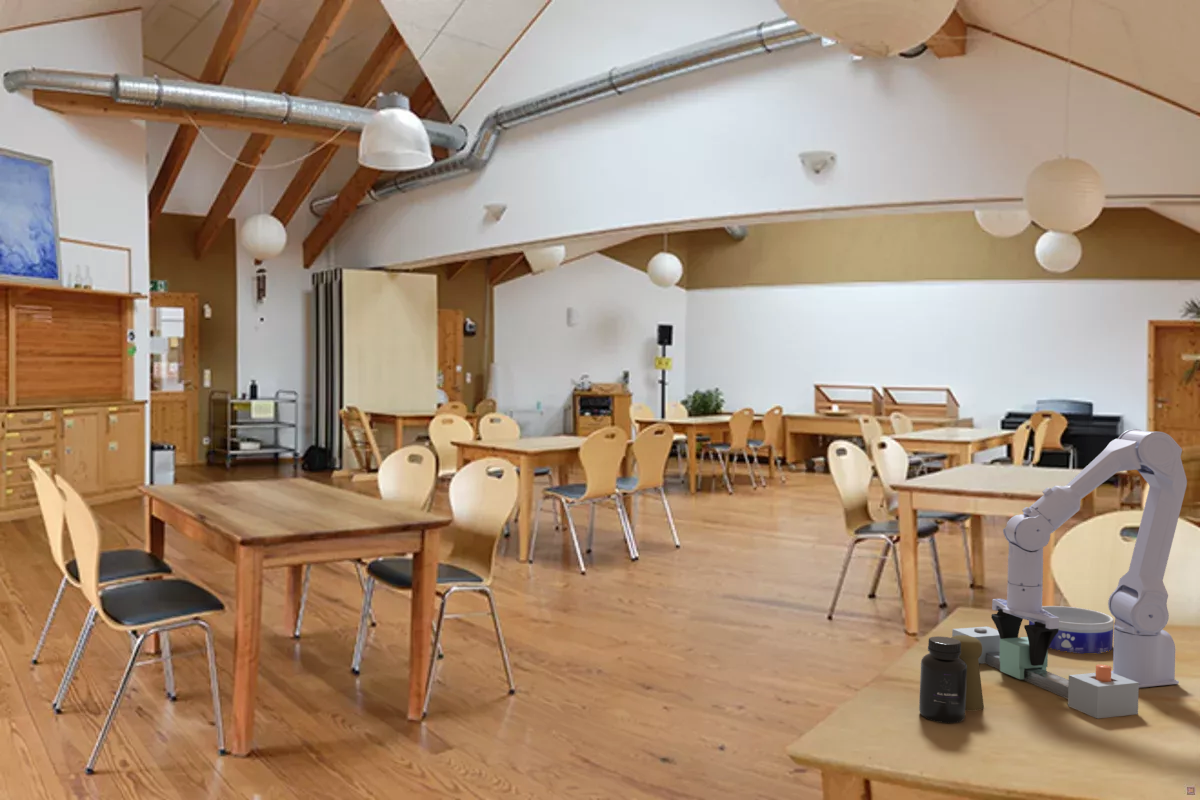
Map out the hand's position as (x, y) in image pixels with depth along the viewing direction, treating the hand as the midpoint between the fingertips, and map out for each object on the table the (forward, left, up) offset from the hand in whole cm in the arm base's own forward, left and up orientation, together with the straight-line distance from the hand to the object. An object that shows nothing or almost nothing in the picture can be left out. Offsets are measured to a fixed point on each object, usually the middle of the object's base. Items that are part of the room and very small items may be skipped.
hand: (1023, 659), depth 171 cm
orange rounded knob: (0, +18, 0) cm, 18 cm away
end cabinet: (0, +18, -3) cm, 18 cm away
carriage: (0, 0, -3) cm, 3 cm away
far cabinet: (0, -11, -3) cm, 12 cm away
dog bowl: (-25, -16, -3) cm, 30 cm away
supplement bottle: (+27, +14, -3) cm, 31 cm away
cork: (+20, +10, -3) cm, 23 cm away
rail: (0, +3, -3) cm, 4 cm away
